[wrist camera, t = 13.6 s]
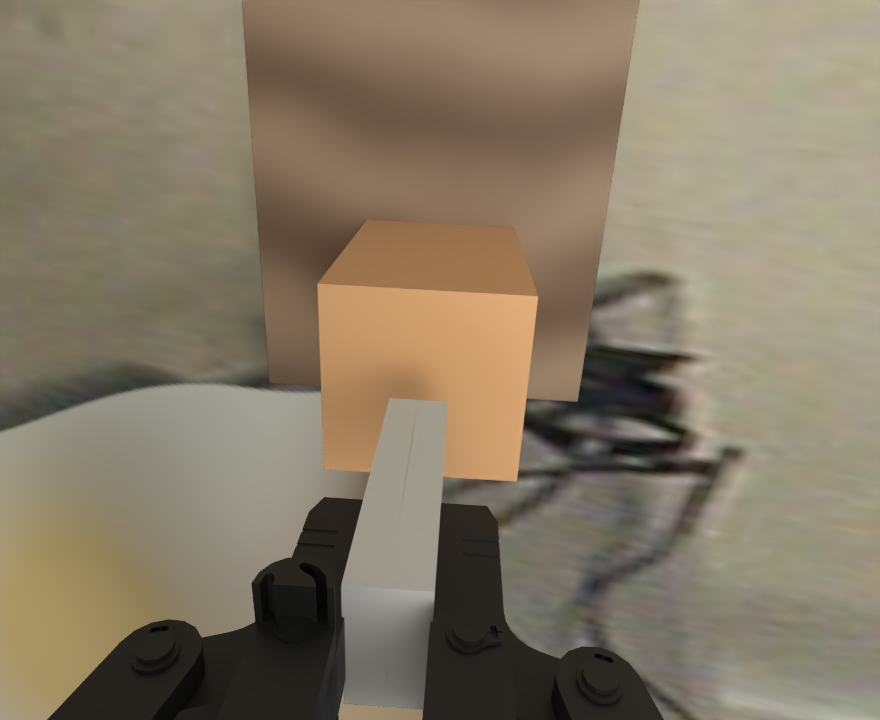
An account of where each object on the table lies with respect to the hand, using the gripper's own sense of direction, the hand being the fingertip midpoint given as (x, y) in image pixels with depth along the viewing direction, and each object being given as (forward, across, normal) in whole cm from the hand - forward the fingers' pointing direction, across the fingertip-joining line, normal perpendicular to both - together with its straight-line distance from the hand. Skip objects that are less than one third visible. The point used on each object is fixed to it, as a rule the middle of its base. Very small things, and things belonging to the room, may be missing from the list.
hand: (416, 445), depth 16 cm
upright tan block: (+13, 0, 0) cm, 13 cm away
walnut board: (+14, 0, +8) cm, 16 cm away
